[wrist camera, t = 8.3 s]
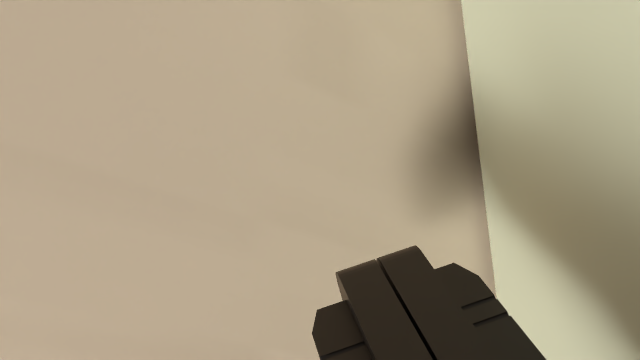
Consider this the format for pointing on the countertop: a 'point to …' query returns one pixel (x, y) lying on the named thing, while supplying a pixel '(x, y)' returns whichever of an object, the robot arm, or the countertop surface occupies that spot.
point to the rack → (561, 167)
